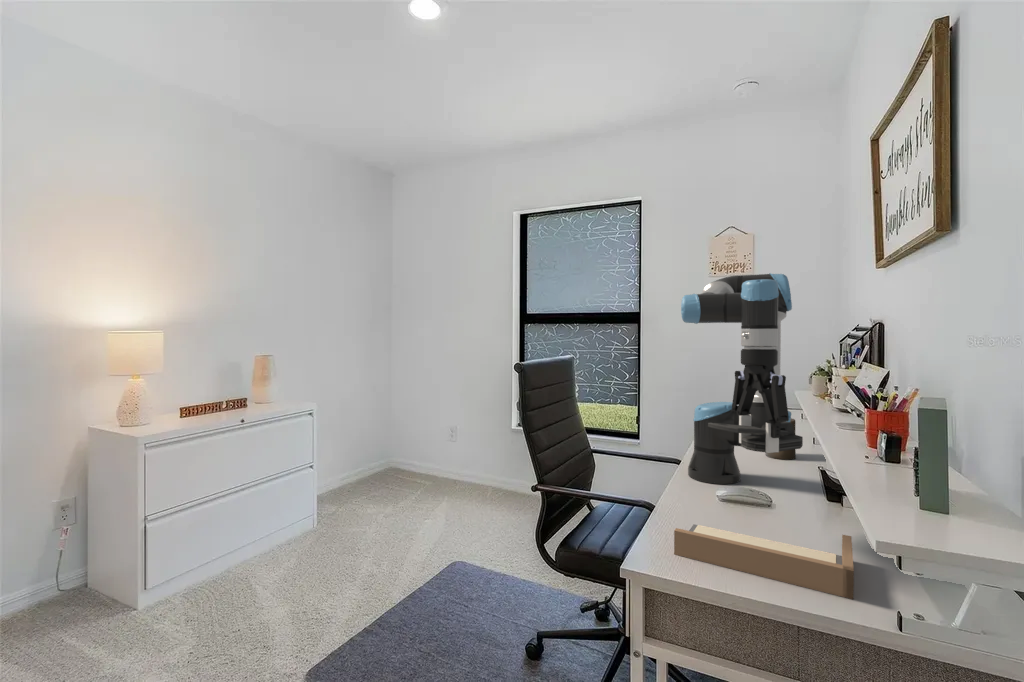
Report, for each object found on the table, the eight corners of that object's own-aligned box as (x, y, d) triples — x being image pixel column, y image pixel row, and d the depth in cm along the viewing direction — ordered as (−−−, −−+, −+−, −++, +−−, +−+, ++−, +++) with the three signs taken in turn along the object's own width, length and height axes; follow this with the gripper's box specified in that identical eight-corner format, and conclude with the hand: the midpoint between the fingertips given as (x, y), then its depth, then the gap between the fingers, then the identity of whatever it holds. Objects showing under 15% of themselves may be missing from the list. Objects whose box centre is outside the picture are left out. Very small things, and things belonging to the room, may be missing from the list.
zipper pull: (703, 422, 108) (772, 412, 120) (703, 451, 108) (772, 439, 120) (738, 428, 100) (809, 418, 112) (738, 460, 100) (809, 446, 112)
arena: (693, 526, 115) (693, 505, 114) (850, 560, 98) (851, 536, 97) (674, 554, 101) (674, 530, 101) (853, 599, 84) (853, 571, 84)
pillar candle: (801, 459, 170) (801, 417, 170) (774, 460, 170) (774, 417, 170) (785, 453, 180) (785, 412, 180) (759, 453, 180) (759, 412, 180)
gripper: (716, 346, 120) (715, 438, 120) (778, 349, 99) (777, 460, 100) (742, 346, 121) (742, 436, 122) (810, 349, 101) (808, 458, 101)
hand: (758, 447), depth 111 cm, fingers closed on zipper pull, 8 cm apart
